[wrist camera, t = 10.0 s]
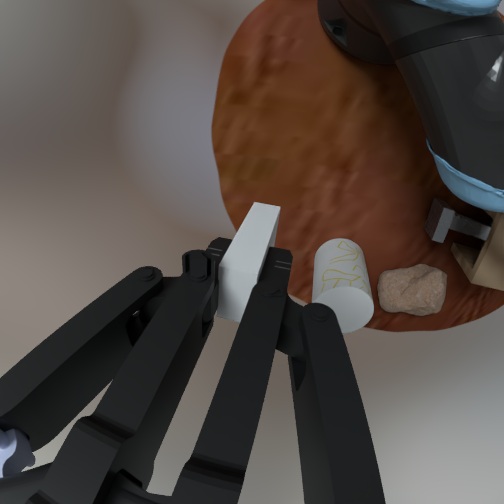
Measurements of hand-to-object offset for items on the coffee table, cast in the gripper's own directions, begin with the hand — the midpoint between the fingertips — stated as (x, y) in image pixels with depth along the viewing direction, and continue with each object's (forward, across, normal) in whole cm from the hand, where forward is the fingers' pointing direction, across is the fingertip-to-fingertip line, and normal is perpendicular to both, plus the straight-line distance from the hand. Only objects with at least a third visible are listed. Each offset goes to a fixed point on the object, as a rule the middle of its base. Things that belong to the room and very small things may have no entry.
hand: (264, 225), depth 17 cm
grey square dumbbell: (+24, +34, -4) cm, 42 cm away
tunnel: (+24, +33, -4) cm, 41 cm away
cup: (+25, +10, -16) cm, 31 cm away
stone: (+25, +24, -18) cm, 39 cm away
